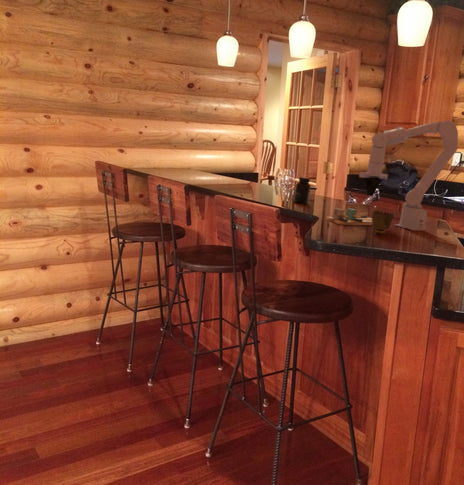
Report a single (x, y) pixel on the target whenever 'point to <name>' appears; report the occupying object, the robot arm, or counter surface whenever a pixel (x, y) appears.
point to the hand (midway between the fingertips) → (370, 195)
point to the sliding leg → (351, 214)
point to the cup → (381, 221)
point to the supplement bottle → (302, 191)
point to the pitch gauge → (342, 220)
